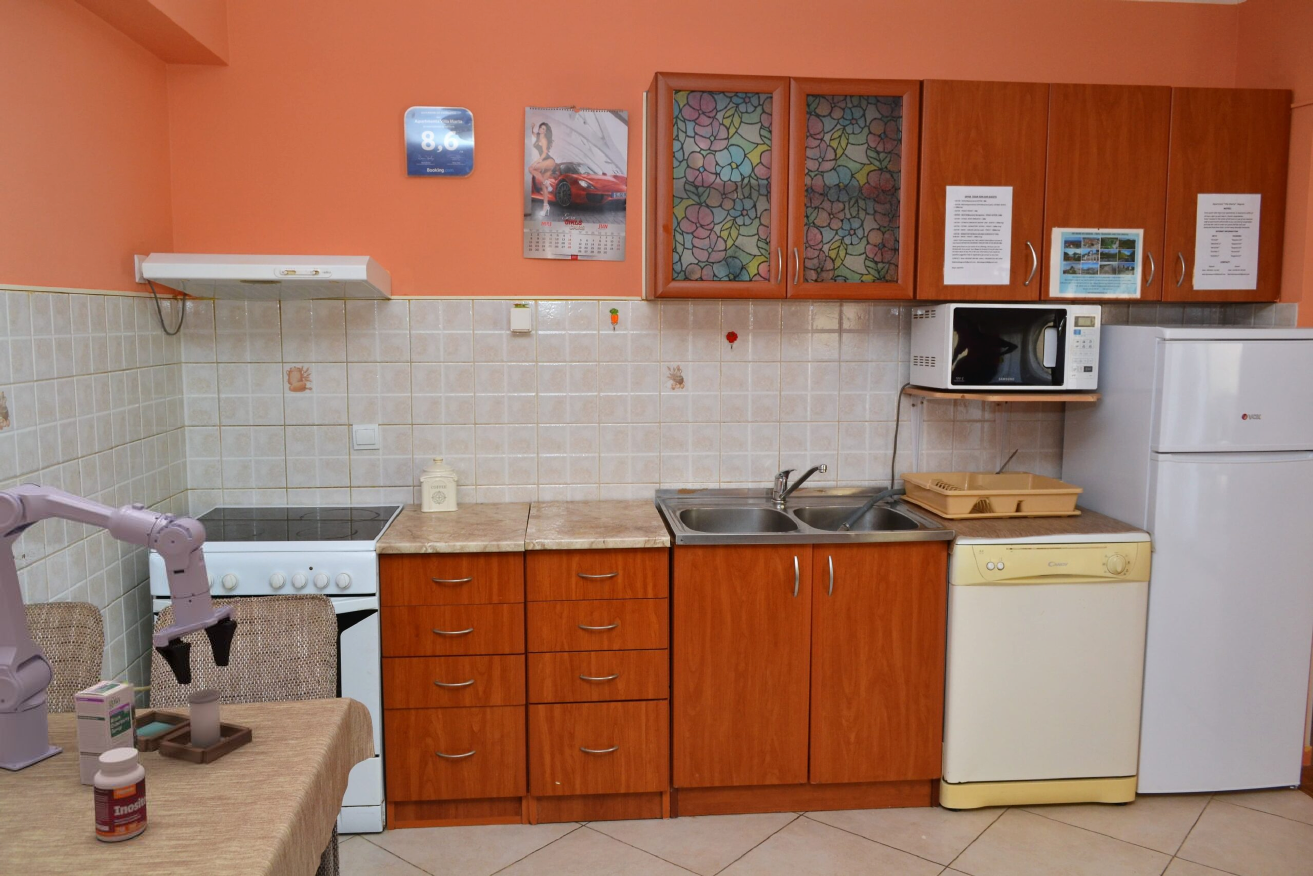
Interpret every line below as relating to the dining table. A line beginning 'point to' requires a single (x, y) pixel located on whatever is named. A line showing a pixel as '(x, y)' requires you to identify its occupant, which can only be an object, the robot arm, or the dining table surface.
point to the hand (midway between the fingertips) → (204, 674)
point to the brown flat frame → (184, 737)
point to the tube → (204, 718)
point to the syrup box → (104, 723)
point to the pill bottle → (119, 795)
